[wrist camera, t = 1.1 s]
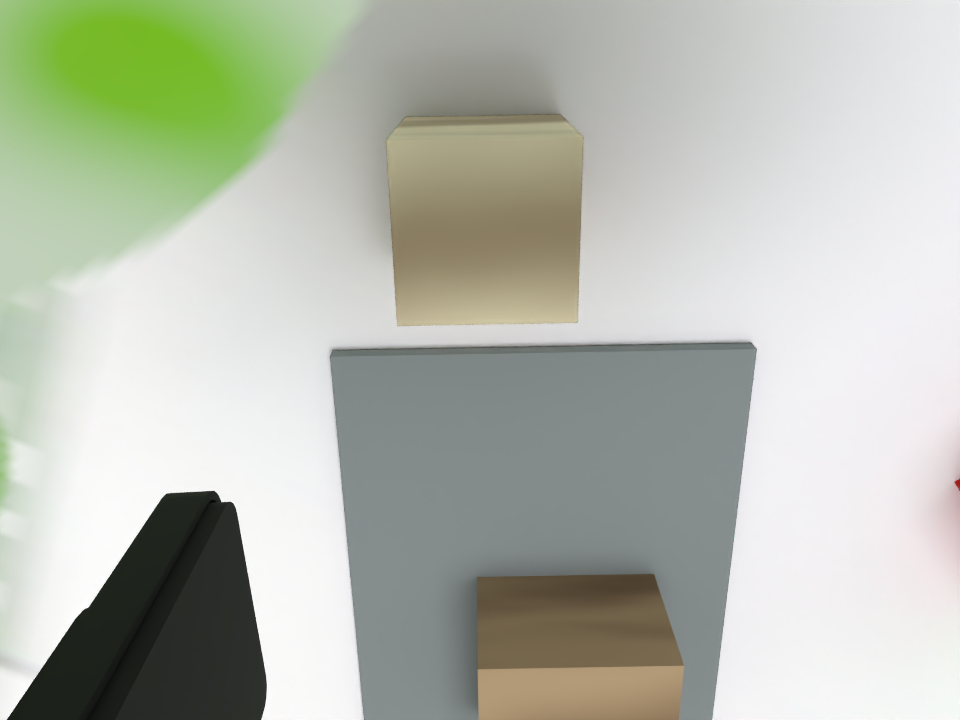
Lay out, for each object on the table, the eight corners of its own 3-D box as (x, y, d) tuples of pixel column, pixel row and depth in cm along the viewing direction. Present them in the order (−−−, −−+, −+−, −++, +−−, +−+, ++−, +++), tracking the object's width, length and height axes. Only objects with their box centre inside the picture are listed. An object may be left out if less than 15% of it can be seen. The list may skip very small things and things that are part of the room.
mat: (332, 350, 29) (330, 356, 28) (751, 342, 29) (756, 349, 28) (373, 794, 37) (372, 805, 37) (699, 788, 37) (702, 799, 37)
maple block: (405, 116, 26) (386, 140, 21) (560, 114, 26) (583, 136, 21) (412, 267, 28) (397, 326, 22) (557, 264, 28) (577, 322, 22)
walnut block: (477, 576, 32) (477, 669, 27) (654, 573, 32) (684, 665, 27) (480, 711, 35) (481, 816, 30) (643, 708, 35) (669, 813, 30)
